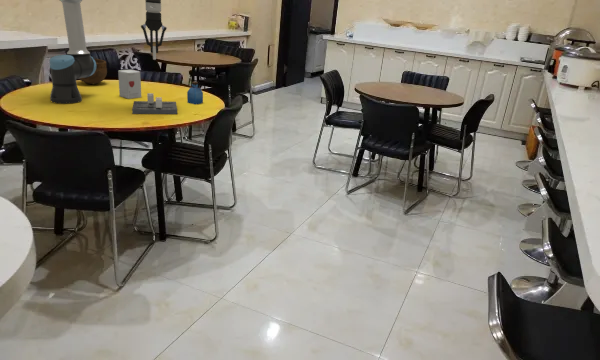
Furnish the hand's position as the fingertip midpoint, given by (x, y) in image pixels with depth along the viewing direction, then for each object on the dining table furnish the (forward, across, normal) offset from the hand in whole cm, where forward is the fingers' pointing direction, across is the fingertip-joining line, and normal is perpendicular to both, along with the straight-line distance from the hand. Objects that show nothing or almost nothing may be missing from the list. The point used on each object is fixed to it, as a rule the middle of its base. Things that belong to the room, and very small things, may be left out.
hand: (154, 59), depth 241 cm
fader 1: (+23, -2, -3) cm, 23 cm away
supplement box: (+26, -14, +24) cm, 38 cm away
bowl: (+27, -39, +61) cm, 77 cm away
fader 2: (+23, +2, -13) cm, 26 cm away
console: (+25, 0, -8) cm, 26 cm away
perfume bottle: (+25, +22, +10) cm, 35 cm away
